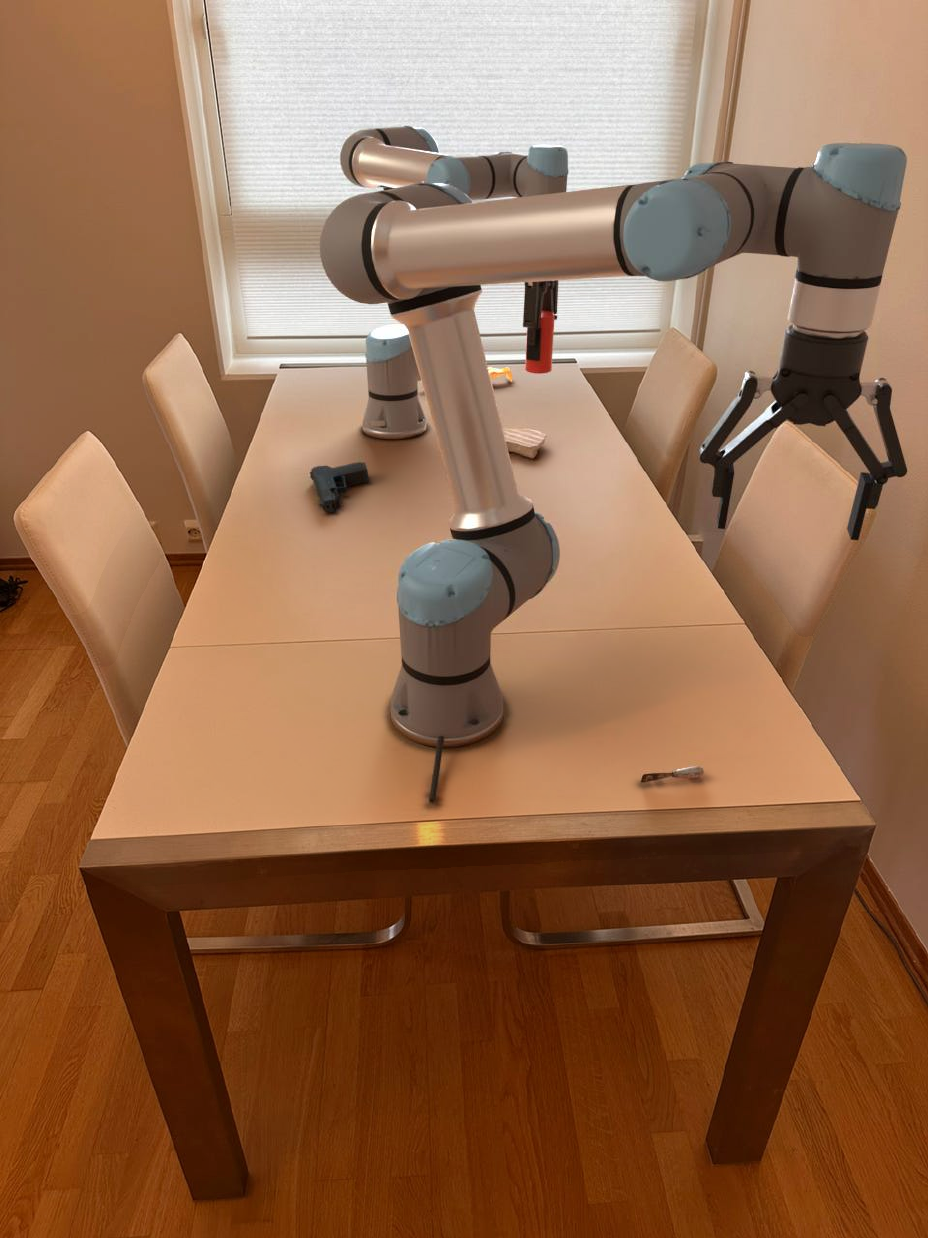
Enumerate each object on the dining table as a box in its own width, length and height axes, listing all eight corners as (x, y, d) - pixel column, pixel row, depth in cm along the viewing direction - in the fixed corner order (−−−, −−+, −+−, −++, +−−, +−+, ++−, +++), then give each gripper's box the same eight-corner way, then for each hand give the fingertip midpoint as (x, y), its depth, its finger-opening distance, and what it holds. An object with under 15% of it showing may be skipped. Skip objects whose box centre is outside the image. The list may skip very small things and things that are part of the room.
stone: (551, 440, 207) (551, 430, 205) (534, 459, 197) (534, 448, 196) (499, 434, 211) (499, 423, 210) (480, 451, 202) (480, 440, 200)
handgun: (380, 507, 177) (320, 515, 174) (365, 473, 191) (308, 479, 188) (379, 493, 175) (318, 500, 172) (364, 459, 189) (307, 465, 186)
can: (554, 367, 188) (557, 311, 182) (547, 374, 183) (550, 318, 177) (529, 364, 189) (531, 309, 183) (522, 372, 185) (524, 315, 179)
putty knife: (703, 777, 109) (705, 767, 109) (642, 788, 108) (644, 777, 107) (700, 772, 110) (702, 762, 109) (639, 782, 109) (640, 771, 108)
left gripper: (545, 245, 164) (539, 370, 176) (578, 229, 178) (570, 346, 191) (507, 241, 167) (504, 365, 179) (543, 226, 181) (538, 342, 193)
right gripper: (958, 324, 86) (902, 523, 97) (693, 312, 90) (668, 504, 101) (980, 344, 79) (917, 555, 91) (693, 331, 84) (667, 534, 95)
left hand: (538, 355), depth 185 cm, fingers closed on can, 5 cm apart
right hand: (785, 529), depth 96 cm, fingers open, 13 cm apart
